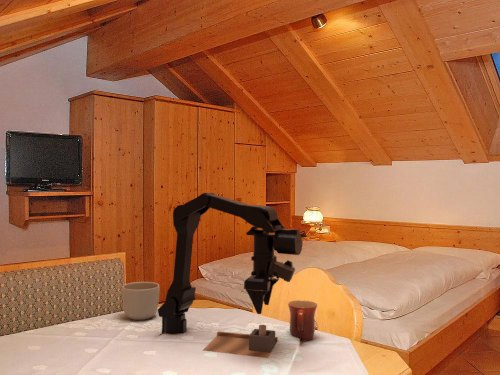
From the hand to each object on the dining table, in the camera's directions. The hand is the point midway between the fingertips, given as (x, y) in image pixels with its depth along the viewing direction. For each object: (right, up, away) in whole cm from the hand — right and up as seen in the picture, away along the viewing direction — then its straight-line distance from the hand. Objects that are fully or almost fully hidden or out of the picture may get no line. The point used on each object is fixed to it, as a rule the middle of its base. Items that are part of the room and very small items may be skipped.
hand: (263, 309), depth 123 cm
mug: (+12, -12, +10) cm, 20 cm away
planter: (-41, -11, +30) cm, 52 cm away
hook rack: (-6, -12, +2) cm, 13 cm away
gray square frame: (0, -11, 0) cm, 11 cm away
